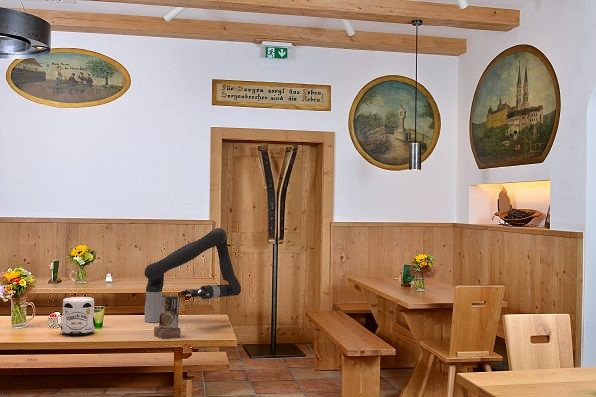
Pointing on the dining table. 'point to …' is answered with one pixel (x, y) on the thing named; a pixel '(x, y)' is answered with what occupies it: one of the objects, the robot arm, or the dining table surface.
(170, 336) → the walnut block
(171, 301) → the coffee box
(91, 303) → the milk container
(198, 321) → the dining table surface
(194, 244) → the robot arm
